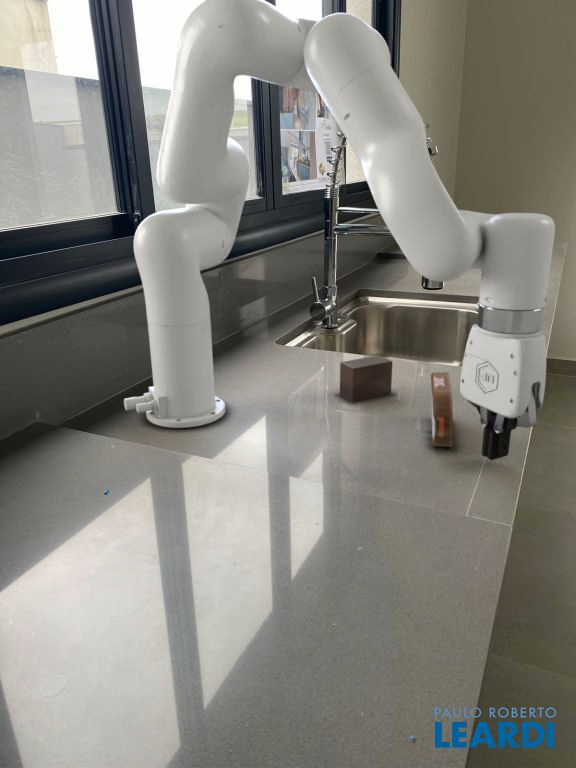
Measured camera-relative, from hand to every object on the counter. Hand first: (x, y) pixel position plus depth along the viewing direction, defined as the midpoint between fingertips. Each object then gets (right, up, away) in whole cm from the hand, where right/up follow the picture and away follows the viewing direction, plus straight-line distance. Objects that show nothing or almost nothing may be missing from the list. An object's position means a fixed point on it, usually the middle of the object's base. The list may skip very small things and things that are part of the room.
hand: (494, 455), depth 79 cm
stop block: (-14, +8, +25) cm, 30 cm away
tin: (-5, +2, +10) cm, 11 cm away
